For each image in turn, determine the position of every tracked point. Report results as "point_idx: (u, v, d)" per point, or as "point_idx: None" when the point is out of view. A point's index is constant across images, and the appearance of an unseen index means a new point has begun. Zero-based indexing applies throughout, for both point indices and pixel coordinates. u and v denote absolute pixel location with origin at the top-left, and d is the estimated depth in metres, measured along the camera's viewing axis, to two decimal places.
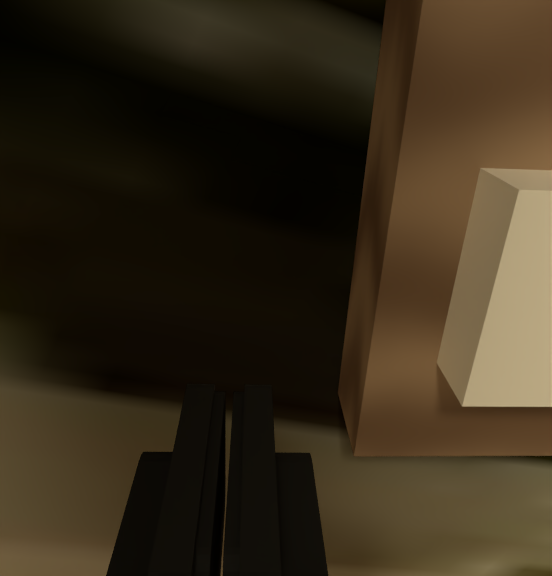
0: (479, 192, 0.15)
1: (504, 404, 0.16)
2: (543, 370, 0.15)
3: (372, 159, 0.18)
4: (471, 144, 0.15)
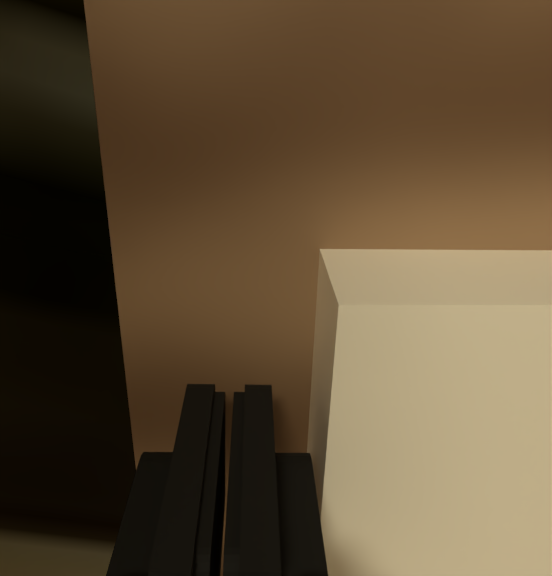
0: (319, 286, 0.10)
1: None
2: (429, 553, 0.10)
3: None
4: (220, 220, 0.09)
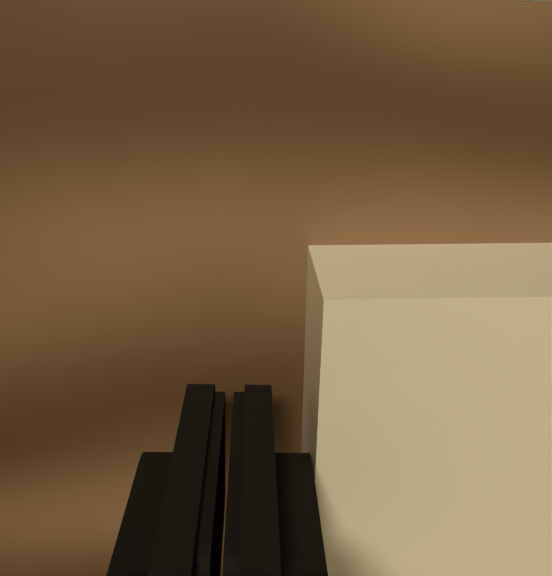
0: (308, 282, 0.10)
1: None
2: (424, 550, 0.10)
3: None
4: None
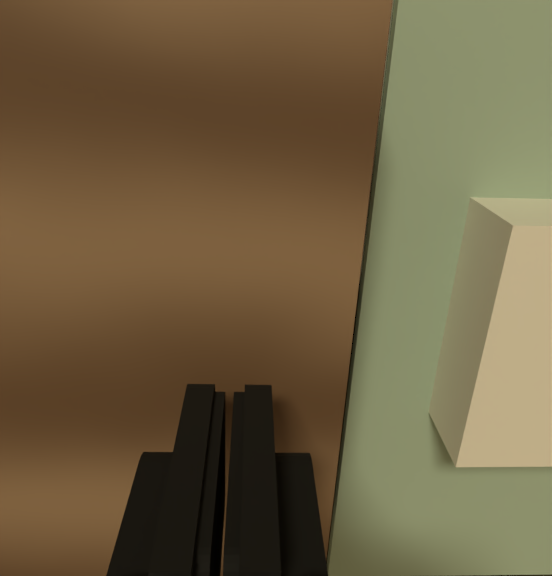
0: None
1: None
2: None
3: None
4: None
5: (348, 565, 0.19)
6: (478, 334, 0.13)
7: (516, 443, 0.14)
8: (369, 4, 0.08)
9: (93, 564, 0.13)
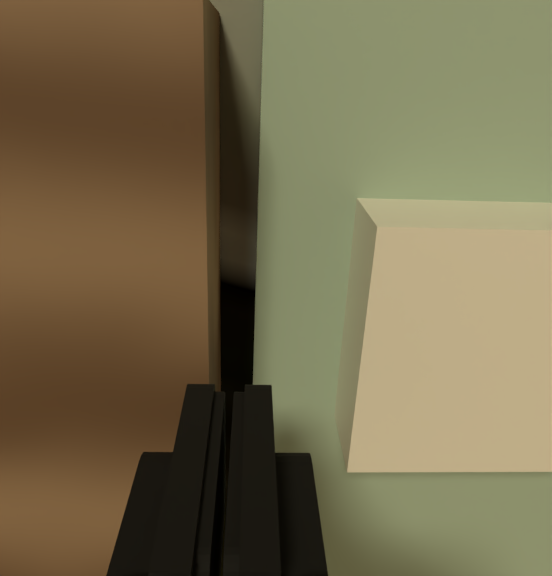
0: None
1: None
2: None
3: None
4: None
5: None
6: (359, 337, 0.12)
7: (407, 448, 0.13)
8: None
9: None
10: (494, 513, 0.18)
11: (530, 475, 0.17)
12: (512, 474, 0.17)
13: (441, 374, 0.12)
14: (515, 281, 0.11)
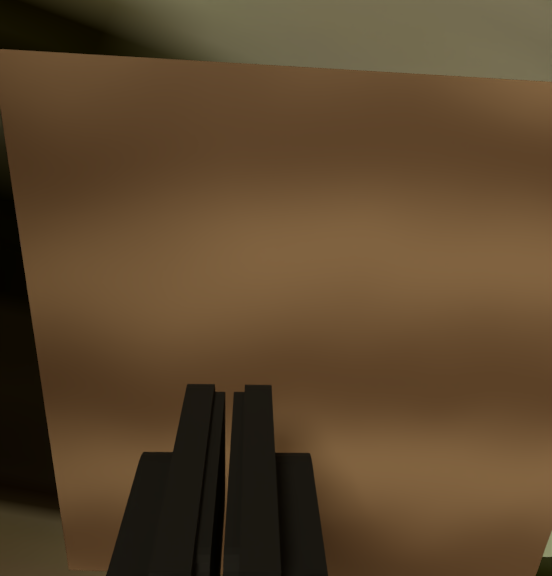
0: None
1: None
2: None
3: None
4: (103, 224, 0.12)
5: None
6: None
7: None
8: None
9: (366, 519, 0.16)
10: None
11: None
12: None
13: None
14: None
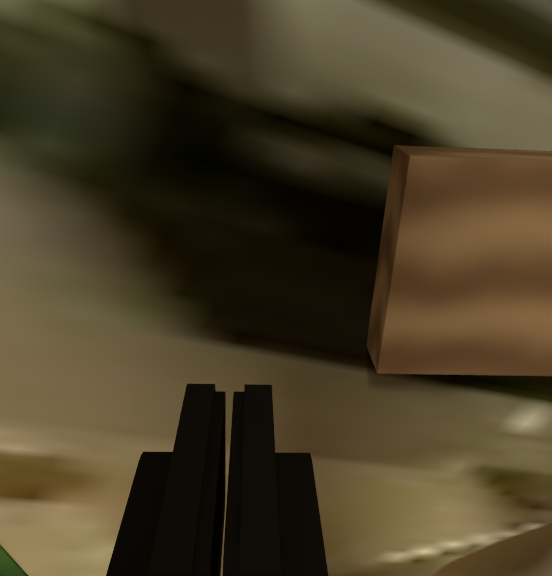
0: None
1: None
2: None
3: (387, 219, 0.36)
4: (432, 216, 0.33)
5: None
6: None
7: None
8: None
9: (513, 344, 0.37)
10: None
11: None
12: None
13: None
14: None
